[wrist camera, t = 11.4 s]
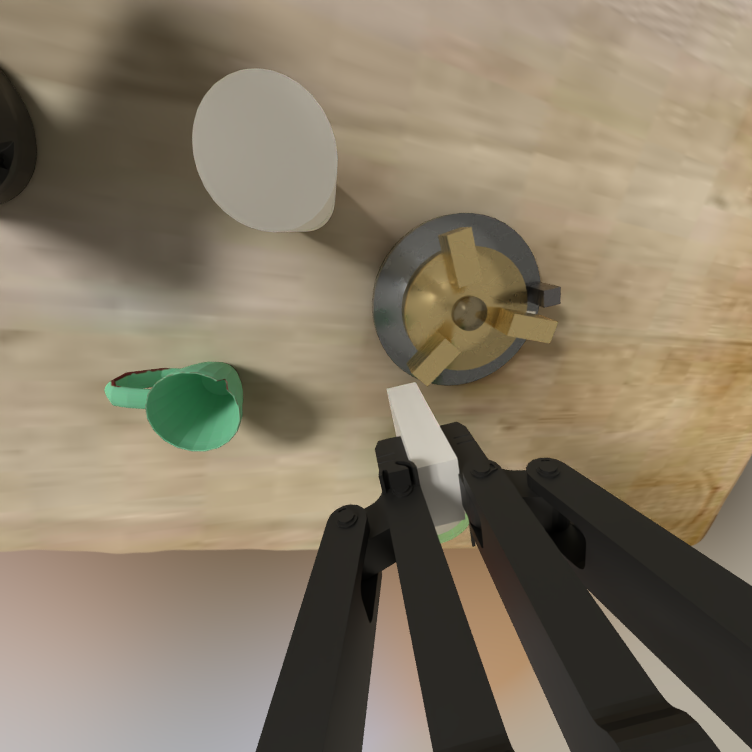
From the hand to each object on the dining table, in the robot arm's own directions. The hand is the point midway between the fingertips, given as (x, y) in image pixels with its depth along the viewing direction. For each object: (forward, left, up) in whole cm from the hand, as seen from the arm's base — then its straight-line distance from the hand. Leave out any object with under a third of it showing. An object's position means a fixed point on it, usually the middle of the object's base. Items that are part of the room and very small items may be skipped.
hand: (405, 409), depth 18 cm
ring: (+3, +12, -30) cm, 33 cm away
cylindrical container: (-13, -4, -31) cm, 33 cm away
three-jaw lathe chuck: (+3, +13, -28) cm, 31 cm away
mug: (+5, -23, -31) cm, 39 cm away
